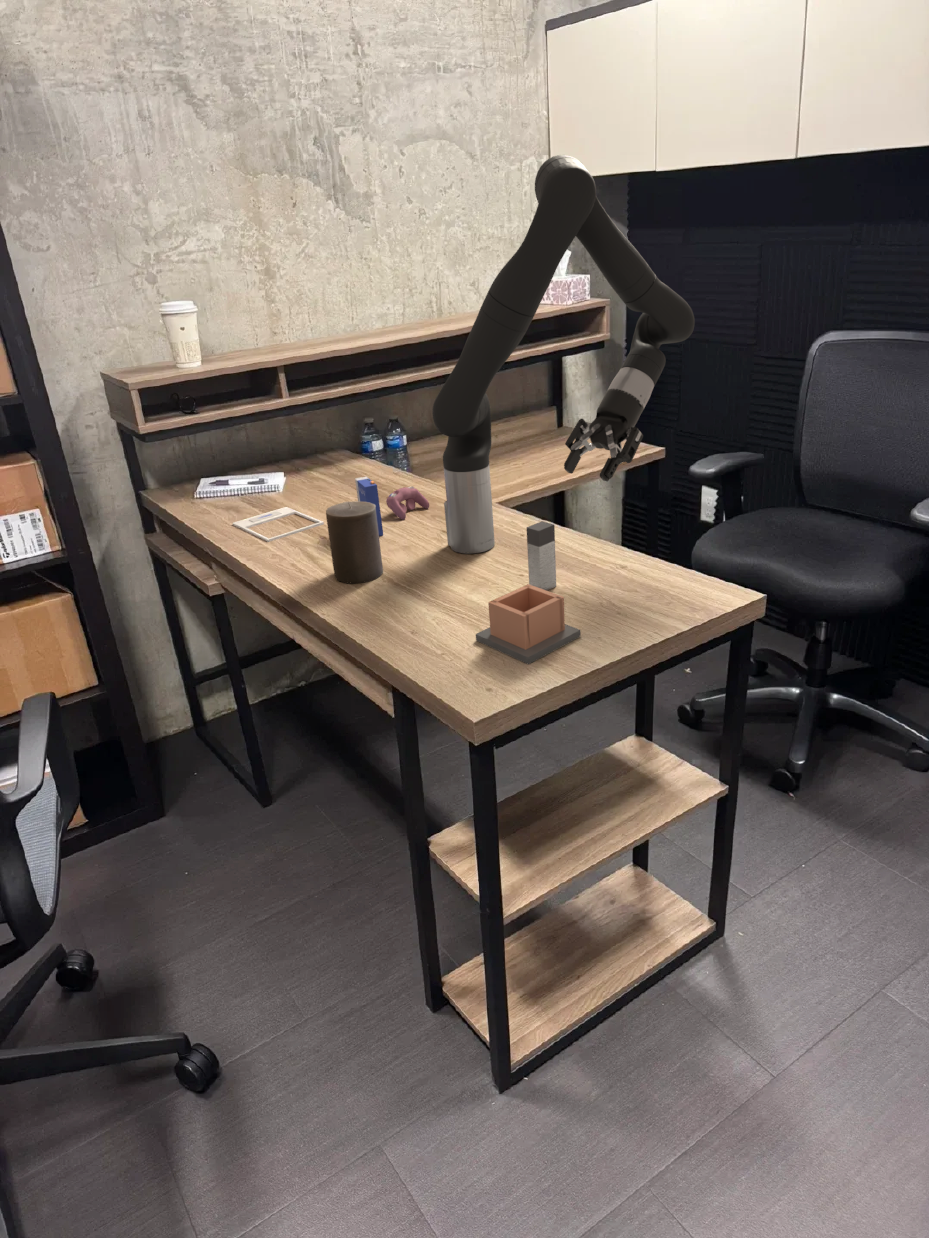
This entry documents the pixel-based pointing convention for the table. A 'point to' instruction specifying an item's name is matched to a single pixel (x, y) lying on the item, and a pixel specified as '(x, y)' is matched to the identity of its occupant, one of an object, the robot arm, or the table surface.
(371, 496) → the walkman
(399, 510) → the video game controller
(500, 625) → the box
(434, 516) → the table surface
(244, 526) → the photo frame
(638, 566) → the table surface
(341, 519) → the pillar candle
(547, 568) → the grey block
